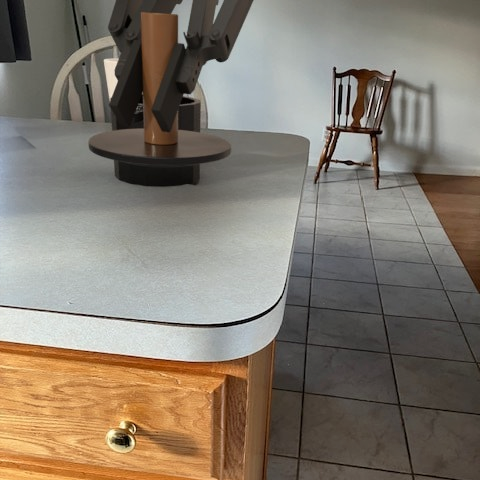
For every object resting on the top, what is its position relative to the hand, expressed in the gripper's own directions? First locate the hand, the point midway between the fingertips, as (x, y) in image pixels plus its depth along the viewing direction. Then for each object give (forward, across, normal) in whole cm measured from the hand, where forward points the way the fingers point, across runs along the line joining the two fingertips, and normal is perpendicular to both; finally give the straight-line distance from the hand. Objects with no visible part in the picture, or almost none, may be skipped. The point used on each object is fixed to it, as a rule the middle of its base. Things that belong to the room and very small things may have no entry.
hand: (140, 118), depth 44 cm
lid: (-1, 0, -5) cm, 5 cm away
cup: (-30, +30, -48) cm, 64 cm away
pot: (-10, +12, -28) cm, 32 cm away
